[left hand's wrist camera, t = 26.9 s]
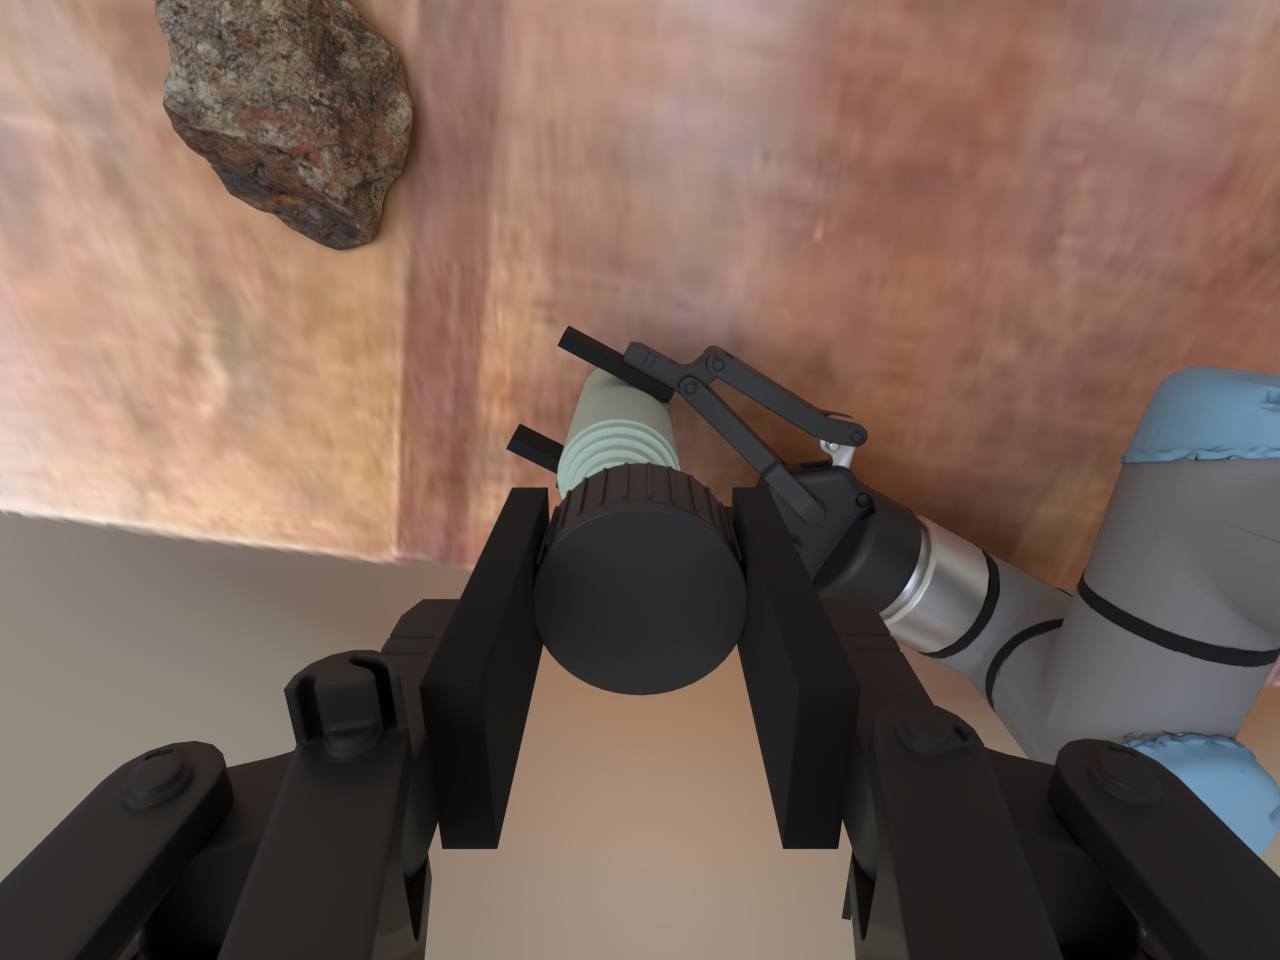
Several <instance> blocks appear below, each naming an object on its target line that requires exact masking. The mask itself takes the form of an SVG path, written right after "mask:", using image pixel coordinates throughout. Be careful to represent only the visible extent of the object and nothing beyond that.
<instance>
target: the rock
mask: <svg viewBox="0 0 1280 960" xmlns="http://www.w3.org/2000/svg"><path fill="white" fill-rule="evenodd" d="M155 15H156V17H157V20H158V22H159V24H160V26H161V29H162V31H163V33H164V35H165V38H166V40H167V42H168V44H169V48H170V55H171V65H172V67H171V69H170V71H169V74H168V76H167V79H166V81H165V83H164V100H163V106H164V108H165V111H166V113H167V114H168V116H169V118H170V119H171V122H172V126H173V129H174V130H175V131H176V132H177V134H178V135H179V136H180V137H181V138H182V139H183V141H184V142H185V143H186V144H187V146H188V147H189V148H191V149H192V150H193V151H194V152H196V153H197V154H199V155H201V156H203V157H205V158H206V159H207V160H208V162H210V163H211V164H212V169H213V170H214V171H215V172H216V173H217V174H218V176H219V178H220V179H221V181H222V183H223V184H224V186H225V187H226V189H227V190H228V192H229V193H230V194H231V195H233V196H235V197H237V198H239V199H240V200H242V201H244V202H245V203H247V204H248V205H250V206H252V207H254V208H256V209H258V210H261V211H264V212H268V213H272V214H275V215H276V216H277V217H278V218H280V219H281V220H282V221H283V222H284V223H285V224H286V225H287V226H288V227H289V228H291V229H293V230H295V231H297V232H299V233H301V234H303V235H305V236H307V237H308V238H310V239H312V240H314V241H315V242H317V243H319V244H322V245H324V246H327V247H330V248H334V249H337V250H344V249H349V248H353V247H357V246H359V245H361V244H366V243H368V242H369V241H370V240H371V239H373V238H374V237H375V236H376V234H377V227H378V224H379V221H380V218H381V216H382V203H383V199H384V196H385V194H386V191H387V190H388V188H389V187H390V186H391V184H392V183H393V181H394V179H395V178H398V177H399V176H400V175H401V174H402V168H403V165H404V162H405V156H406V155H407V151H408V147H409V141H410V132H411V128H412V125H413V123H412V117H413V111H412V109H413V104H412V102H411V99H410V95H409V91H408V89H407V88H406V75H405V71H404V69H403V67H402V65H401V63H400V56H399V55H398V54H397V52H396V51H395V48H394V46H393V45H391V44H390V43H389V42H388V41H387V40H386V39H385V38H384V37H383V36H382V34H381V33H380V32H378V31H377V30H376V29H374V28H373V27H372V26H371V24H370V23H369V22H366V21H365V20H364V19H363V18H362V17H361V16H360V14H359V13H358V12H357V10H356V9H355V8H354V7H353V6H352V4H351V3H350V2H349V1H348V0H156V6H155Z"/></svg>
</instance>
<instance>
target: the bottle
mask: <svg viewBox="0 0 1280 960" xmlns="http://www.w3.org/2000/svg"><path fill="white" fill-rule="evenodd" d="M627 462H628V463H629V464H632V463H647V462H651V464H656V465H662V466H666V467H669V466H671V467H673V469H676V470H678V471H680V465H679V459H678V454H677V449H676V444H675V439H674V433H673V428H672V423H671V418H670V413H669V407H668V404H666V403H664V402H662V401H660V400H658V399H657V398H655V397H653V396H651V395H649V394H647V393H646V392H643V391H642V390H640V389H638V388H636V387H634V386H632V385H630V384H628V383H627V382H625V381H623V380H621V379H619V378H617V377H615V376H613V375H612V374H610V373H608V372H606V371H604V370H602V369H600V368H596V369H595V370H594V371H593V372H592V373H591V374H590V375H589V377H588V378H587V380H586V381H585V383H584V386H583V388H582V391H581V395H580V398H579V401H578V404H577V407H576V410H575V414H574V417H573V420H572V423H571V426H570V429H569V433H568V436H567V439H566V442H565V445H564V448H563V452H562V455H561V458H560V461H559V465H558V473H557V481H558V487H559V491H560V495H561V497H562V499H564V498H565V497H566V493H567V491H568V490H572V489H573V488H575V487H576V486H577V485H578V484H579V483H580V482H582V481H583V478H585V477H587V478H588V477H589V476H591V475H593V474H595V473H597V472H599V471H602V470H603V468H605V467H607V468H610V467H614V466H618V465H623V464H624V463H627ZM680 472H681V471H680Z"/></svg>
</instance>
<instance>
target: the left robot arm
mask: <svg viewBox="0 0 1280 960" xmlns="http://www.w3.org/2000/svg"><path fill="white" fill-rule="evenodd" d="M731 521H732V524H733V528H734V531H735V534H736V538H737V541H738V544H739V548H740V551H741V554H742V558H743V561H744V563H741V565H742V569H743V572H744V576H745V579H746V584H747V599H746V614H745V626H744V629H743V631H742V634H741V636H740V638H739V640H738V642H737V646H738V651H739V655H740V660H741V664H742V668H743V673H744V677H745V681H746V686H747V691H748V695H749V699H750V704H751V708H752V713H753V717H754V722H755V726H756V731H757V735H758V739H759V744H760V748H761V753H762V757H763V762H764V766H765V771H766V775H767V779H768V784H769V788H770V792H771V797H772V802H773V806H774V811H775V815H776V819H777V824H778V828H779V833H780V837H781V842H782V846H783V849H838V845H839V839H840V832H841V825H842V819H843V822H844V825H845V828H846V831H847V834H848V837H849V840H850V843H851V846H852V856H851V862H850V868H849V875H848V882H847V888H846V894H845V900H844V907H843V914H842V919H847V920H851V915H852V924H853V935H854V946H855V957H856V960H1280V877H1279V876H1278V875H1276V873H1275V872H1274V871H1272V869H1271V868H1269V867H1268V866H1267V865H1266V864H1265V863H1264V862H1263V861H1262V860H1261V859H1260V858H1259V857H1258V856H1257V855H1256V854H1255V853H1254V852H1253V851H1252V850H1251V849H1250V848H1249V847H1248V846H1247V845H1246V844H1245V843H1244V842H1243V841H1242V840H1241V839H1240V838H1239V837H1238V836H1237V835H1236V834H1235V833H1234V832H1233V831H1232V830H1231V829H1230V828H1229V827H1228V826H1227V825H1226V824H1225V823H1224V822H1223V821H1222V820H1221V819H1220V818H1219V817H1218V816H1217V815H1216V814H1215V813H1214V812H1213V811H1212V810H1211V809H1210V808H1209V807H1208V806H1207V805H1206V804H1205V803H1204V802H1203V801H1202V800H1201V799H1200V798H1199V797H1198V796H1197V795H1196V794H1195V793H1194V792H1193V791H1192V790H1191V789H1190V788H1189V787H1188V786H1187V785H1186V784H1185V783H1184V782H1183V781H1182V780H1181V779H1180V778H1179V777H1177V776H1176V775H1175V774H1173V773H1172V772H1171V771H1170V770H1168V769H1167V768H1166V767H1165V766H1163V765H1162V764H1161V763H1160V762H1158V761H1156V760H1154V759H1152V758H1151V757H1149V756H1147V755H1145V754H1143V753H1141V752H1139V751H1137V750H1135V749H1133V748H1130V747H1127V746H1124V745H1121V744H1117V743H1114V742H1111V741H1107V740H1098V739H1088V738H1085V739H1080V740H1075V741H1070V742H1068V743H1067V744H1066V745H1064V746H1063V747H1062V748H1061V749H1060V750H1059V751H1058V755H1057V758H1056V762H1055V765H1051V764H1047V763H1043V762H1038V761H1034V760H1030V759H1025V758H1021V757H1016V756H1012V755H1008V754H1004V753H1001V752H998V751H994V750H991V749H988V748H986V747H984V744H983V742H982V741H981V739H980V738H979V736H978V734H977V733H976V731H975V730H974V729H973V728H972V727H971V726H970V725H969V724H967V723H966V722H965V721H964V720H962V719H961V718H960V717H959V716H957V715H955V714H953V713H951V712H949V711H947V710H945V709H943V708H941V707H938V706H935V705H934V704H933V703H932V701H931V699H930V698H929V696H928V694H927V693H926V691H925V689H924V688H923V686H922V684H921V683H920V681H919V679H918V678H917V676H916V674H915V673H914V671H913V669H912V668H911V666H910V664H909V663H908V661H907V659H906V658H905V656H904V654H903V653H902V652H900V648H899V646H898V644H897V643H896V641H895V639H894V638H893V636H891V635H890V631H889V629H888V628H887V626H886V624H885V623H884V621H883V619H882V618H881V616H880V614H879V613H878V612H876V611H875V610H874V609H872V608H871V607H870V606H868V605H867V604H866V603H864V602H863V601H862V600H860V599H859V598H858V597H819V595H818V593H817V591H816V589H815V587H814V584H813V582H812V580H811V578H810V576H809V574H808V572H807V569H806V567H805V565H804V563H803V561H802V559H801V557H800V555H799V552H798V550H797V548H796V546H795V544H794V542H793V540H792V538H791V535H790V533H789V531H788V529H787V527H786V525H785V523H784V520H783V518H782V516H781V514H780V512H779V510H778V508H777V506H776V503H775V501H774V499H773V497H772V495H771V493H770V491H769V488H733V490H732V509H731ZM548 524H550V520H549V501H548V488H512V489H511V491H510V494H509V496H508V498H507V500H506V502H505V504H504V506H503V509H502V511H501V513H500V515H499V517H498V519H497V521H496V523H495V526H494V528H493V530H492V532H491V534H490V536H489V538H488V541H487V543H486V545H485V547H484V549H483V551H482V553H481V555H480V558H479V560H478V562H477V564H476V566H475V568H474V570H473V573H472V575H471V577H470V579H469V581H468V583H467V585H466V587H465V590H464V592H463V594H462V596H461V598H460V599H423V600H422V601H420V602H419V603H418V604H416V605H415V606H414V607H412V608H411V609H410V610H408V611H407V612H406V613H404V614H403V615H402V616H401V618H400V619H399V621H398V623H397V624H396V626H395V628H394V629H393V631H392V633H391V634H390V638H388V639H387V641H386V643H385V645H384V646H383V648H382V650H381V652H377V651H374V650H353V651H348V652H343V653H338V654H334V655H330V656H328V657H326V658H323V659H321V660H319V661H316V662H314V663H312V664H310V665H309V666H307V667H306V668H304V669H303V670H302V671H300V672H299V673H297V674H296V675H295V676H294V677H293V678H292V679H291V681H290V682H289V683H288V685H287V686H286V687H285V689H284V692H285V696H286V700H287V705H288V709H289V713H290V718H291V722H292V726H293V730H294V735H295V739H296V743H297V745H296V748H295V750H294V751H292V752H289V753H285V754H282V755H279V756H275V757H272V758H267V759H263V760H259V761H254V762H250V763H245V764H241V765H237V766H233V767H228V768H227V767H226V764H225V760H224V757H223V754H222V753H221V752H220V751H219V750H218V749H217V748H216V747H215V746H214V745H212V744H207V743H203V742H198V741H191V742H182V743H173V744H170V745H166V746H163V747H160V748H157V749H154V750H151V751H148V752H146V753H144V754H142V755H140V756H138V757H136V758H134V759H132V760H131V761H129V762H127V763H125V764H123V765H122V766H121V767H119V768H118V769H117V770H116V771H114V772H113V773H112V774H111V775H109V776H108V777H107V778H105V779H104V780H103V781H102V782H101V783H100V784H99V785H98V786H97V787H96V788H95V789H94V790H93V791H92V792H91V793H90V794H89V795H88V796H87V797H86V798H85V799H84V800H83V801H82V802H81V803H80V804H79V805H78V806H77V807H76V808H75V809H74V810H73V811H72V812H71V813H70V814H69V815H68V816H67V817H66V818H65V819H64V820H63V821H62V822H61V823H60V824H59V825H58V826H57V827H56V828H55V829H54V830H53V831H52V832H51V833H50V834H49V835H48V836H47V837H46V838H45V839H44V840H43V841H42V842H41V843H40V844H39V845H38V846H37V847H36V848H35V849H34V850H33V851H32V852H31V853H30V854H29V855H28V856H27V857H26V858H25V859H24V860H23V861H22V862H21V863H20V864H19V865H18V866H17V867H16V868H15V869H14V870H13V871H12V872H11V873H10V874H9V875H8V876H7V877H6V878H5V879H4V880H3V881H2V882H1V883H0V960H424V958H425V948H426V937H427V926H428V915H429V904H430V893H431V882H432V876H431V869H430V862H429V856H428V851H429V848H430V845H431V842H432V839H433V836H434V833H435V830H436V827H437V823H438V822H439V829H440V836H441V843H442V849H497V848H498V843H499V839H500V835H501V830H502V826H503V821H504V817H505V812H506V808H507V803H508V799H509V794H510V790H511V786H512V781H513V777H514V772H515V768H516V763H517V759H518V755H519V750H520V746H521V741H522V737H523V732H524V728H525V723H526V719H527V715H528V710H529V706H530V701H531V697H532V692H533V688H534V683H535V679H536V675H537V670H538V666H539V661H540V657H541V652H542V648H543V642H542V640H541V638H540V636H539V634H538V631H537V628H536V623H535V608H534V592H533V584H534V580H535V577H536V573H537V570H538V568H537V567H536V562H537V558H538V555H539V552H540V548H541V545H542V542H543V538H544V535H545V532H546V528H547V525H548Z"/></svg>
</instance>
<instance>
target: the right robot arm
mask: <svg viewBox="0 0 1280 960" xmlns="http://www.w3.org/2000/svg"><path fill="white" fill-rule="evenodd" d="M558 346H559V347H561V348H563V349H565V350H567V351H568V352H570V353H572V354H574V355H576V356H578V357H580V358H582V359H583V360H585V361H587V362H589V363H591V364H593V365H595V366H597V367H598V368H600V369H602V370H604V371H606V372H608V373H610V374H612V375H613V376H615V377H617V378H619V379H621V380H623V381H625V382H627V383H628V384H630V385H632V386H634V387H636V388H638V389H640V390H642V391H643V392H646V393H647V394H649V395H651V396H653V397H655V398H657V399H658V400H660V401H662V402H664V403H666V404H668V402H669V401H670V399H671V397H672V395H673V394H674V391H676V392H678V393H680V394H681V395H682V397H683V398H684V399H685V400H686V401H687V402H688V403H689V404H690V405H691V406H692V407H693V408H694V409H695V410H696V411H697V412H698V413H699V414H701V415H702V416H703V417H704V418H705V419H706V420H707V421H708V422H709V423H710V424H711V425H712V426H713V427H714V428H715V429H716V430H717V431H718V432H719V433H720V434H721V435H722V436H723V437H724V438H725V439H726V440H727V441H728V442H729V443H730V444H731V445H732V446H733V447H734V448H735V449H736V450H737V451H738V452H739V453H740V454H741V455H742V456H743V457H744V458H745V459H746V460H747V461H748V462H749V463H750V464H751V465H752V466H753V467H754V468H755V469H756V470H757V471H758V472H759V474H760V475H761V478H760V479H759V481H758V483H757V486H756V488H769V491H770V493H771V495H772V497H773V499H774V501H775V503H776V506H777V508H778V510H779V512H780V514H781V516H782V518H783V520H784V523H785V525H786V527H787V529H788V531H789V533H790V535H791V538H792V540H793V542H794V544H795V546H796V548H797V550H798V552H799V555H800V557H801V559H802V561H803V563H804V565H805V567H806V569H807V572H808V574H809V576H810V578H811V580H812V582H813V584H814V587H815V589H816V591H817V593H818V595H819V597H858V598H859V599H860V600H862V601H863V602H864V603H866V604H867V605H868V606H870V607H871V608H872V609H874V610H875V611H876V612H878V613H879V614H880V616H881V618H882V619H883V621H884V623H885V624H886V626H887V628H888V629H889V631H890V635H891V636H893V638H894V639H895V641H897V642H899V643H901V644H903V645H906V646H908V647H910V648H912V649H914V650H916V651H917V652H919V653H921V654H923V655H925V656H928V657H930V658H932V659H934V660H936V661H938V662H940V663H942V664H943V665H945V666H947V667H949V668H951V669H953V670H955V671H957V672H959V673H961V674H962V675H963V676H965V677H966V678H968V679H969V680H970V681H971V682H972V683H973V684H974V686H975V687H976V688H977V690H978V691H979V692H980V694H981V695H982V696H983V698H984V699H985V700H986V702H987V703H988V705H989V706H990V707H991V709H992V710H993V711H994V712H995V713H996V715H997V716H998V717H999V718H1000V719H1001V721H1002V722H1003V724H1004V725H1005V726H1006V728H1007V729H1008V731H1009V732H1010V733H1011V735H1012V736H1013V737H1014V739H1015V740H1016V742H1017V743H1018V744H1019V746H1020V747H1021V748H1022V750H1023V751H1024V753H1025V754H1026V755H1027V757H1028V758H1029V759H1030V760H1034V761H1038V762H1043V763H1047V764H1051V765H1055V762H1056V758H1057V755H1058V751H1059V750H1060V749H1061V748H1062V747H1063V746H1064V745H1066V744H1067V743H1068V742H1070V741H1075V740H1080V739H1085V738H1088V739H1098V740H1107V741H1111V742H1114V743H1117V744H1121V745H1124V746H1127V747H1130V748H1133V749H1135V750H1137V751H1139V752H1141V753H1143V754H1145V755H1147V756H1149V757H1151V758H1152V759H1154V760H1156V761H1158V762H1160V763H1161V764H1162V765H1163V766H1165V767H1166V768H1167V769H1168V770H1170V771H1171V772H1172V773H1173V774H1175V775H1176V776H1177V777H1179V778H1180V779H1181V780H1182V781H1183V782H1184V783H1185V784H1186V785H1187V786H1188V787H1189V788H1190V789H1191V790H1192V791H1193V792H1194V793H1195V794H1196V795H1197V796H1198V797H1199V798H1200V799H1201V800H1202V801H1203V802H1204V803H1205V804H1206V805H1207V806H1208V807H1209V808H1210V809H1211V810H1212V811H1213V812H1214V813H1215V814H1216V815H1217V816H1218V817H1219V818H1220V819H1221V820H1222V821H1223V822H1224V823H1225V824H1226V825H1227V826H1228V827H1229V828H1230V829H1231V830H1232V831H1233V832H1234V833H1235V834H1236V835H1237V836H1238V837H1239V838H1240V839H1241V840H1242V841H1243V842H1244V843H1245V844H1246V845H1247V846H1248V847H1249V848H1250V849H1251V850H1252V851H1253V852H1254V853H1255V854H1256V855H1257V856H1258V857H1259V856H1260V855H1261V854H1262V853H1263V852H1264V851H1265V850H1266V849H1267V848H1268V847H1269V845H1270V844H1271V843H1272V841H1273V840H1274V838H1275V837H1276V835H1277V833H1278V831H1279V828H1280V807H1279V803H1280V790H1279V788H1278V786H1277V784H1276V782H1275V781H1274V779H1273V778H1272V776H1271V775H1270V774H1269V773H1268V772H1267V771H1266V770H1265V769H1264V768H1263V767H1262V766H1261V765H1260V764H1259V763H1258V762H1257V759H1256V756H1254V754H1253V752H1252V751H1250V750H1249V749H1247V748H1246V747H1245V746H1244V745H1243V744H1242V743H1240V742H1239V741H1236V737H1237V735H1238V732H1239V730H1240V728H1241V726H1242V724H1243V723H1244V721H1245V719H1246V717H1247V715H1248V713H1249V711H1250V709H1251V707H1252V706H1253V704H1254V702H1255V700H1256V698H1257V696H1258V694H1259V692H1260V690H1261V688H1262V686H1263V684H1264V683H1265V681H1266V679H1267V677H1268V675H1269V673H1270V671H1271V669H1272V667H1273V665H1274V663H1275V661H1276V659H1277V657H1278V656H1279V654H1280V376H1277V375H1270V374H1264V373H1257V372H1250V371H1242V370H1234V369H1226V368H1213V367H1193V368H1187V369H1183V370H1180V371H1177V372H1175V373H1173V374H1171V375H1169V376H1168V377H1167V378H1165V379H1164V380H1163V381H1162V382H1161V384H1160V385H1159V386H1158V387H1157V389H1156V391H1155V393H1154V395H1153V397H1152V399H1151V401H1150V403H1149V405H1148V407H1147V409H1146V411H1145V413H1144V415H1143V418H1142V420H1141V422H1140V424H1139V426H1138V428H1137V430H1136V432H1135V434H1134V436H1133V438H1132V440H1131V442H1130V444H1129V446H1128V448H1127V450H1126V452H1125V453H1124V454H1123V455H1122V456H1121V463H1123V465H1122V468H1121V471H1120V473H1119V476H1118V479H1117V482H1116V485H1115V487H1114V490H1113V493H1112V496H1111V499H1110V502H1109V504H1108V507H1107V510H1106V513H1105V516H1104V518H1103V521H1102V524H1101V527H1100V530H1099V533H1098V535H1097V538H1096V541H1095V544H1094V547H1093V549H1092V552H1091V555H1090V558H1089V561H1088V564H1087V566H1086V569H1084V572H1083V574H1082V576H1081V579H1080V581H1079V583H1078V585H1077V587H1076V590H1075V592H1074V595H1073V594H1072V593H1070V592H1068V591H1066V590H1064V589H1062V588H1060V589H1059V588H1056V587H1053V586H1052V585H1049V584H1047V583H1045V582H1044V581H1042V580H1040V579H1038V578H1036V577H1034V576H1032V575H1030V574H1028V573H1026V572H1024V571H1022V570H1020V569H1018V568H1016V567H1015V566H1013V565H1011V564H1009V563H1007V562H1005V561H1003V560H1001V559H999V558H998V557H996V556H994V555H992V554H990V553H988V552H986V551H984V550H983V549H981V548H979V547H978V546H976V545H974V544H972V543H970V542H968V541H966V540H965V539H963V538H961V537H959V536H957V535H956V534H954V533H952V532H950V531H948V530H947V529H945V528H943V527H941V526H939V525H938V524H936V523H934V522H932V521H930V520H929V519H927V518H925V517H923V516H918V515H915V514H914V512H913V511H911V510H910V509H909V508H907V507H905V506H903V505H901V504H899V503H898V502H896V501H894V500H892V499H890V498H888V497H886V496H885V495H883V494H881V493H879V492H877V491H875V490H874V489H872V488H870V487H868V486H866V485H864V484H862V483H861V482H859V481H858V480H857V479H856V477H855V475H854V474H853V472H852V471H851V470H850V469H849V467H850V464H851V461H852V458H853V454H854V451H855V448H856V447H859V446H861V445H863V444H864V443H865V441H866V440H867V431H866V430H865V429H864V428H863V427H862V426H861V425H860V424H859V423H858V422H856V421H855V420H854V419H853V418H852V417H851V416H849V415H846V414H841V413H835V412H830V411H825V410H820V409H818V408H816V407H814V406H813V405H811V404H810V403H808V402H806V401H805V400H803V399H802V398H800V397H798V396H797V395H795V394H794V393H792V392H790V391H789V390H787V389H786V388H784V387H782V386H781V385H779V384H778V383H776V382H774V381H773V380H771V379H770V378H768V377H766V376H765V375H763V374H762V373H760V372H758V371H757V370H755V369H754V368H752V367H750V366H749V365H747V364H746V363H744V362H742V361H741V360H739V359H738V358H736V357H734V356H733V355H731V354H730V353H728V352H726V351H725V350H723V349H721V348H720V347H718V346H710V347H708V348H707V349H706V350H705V351H704V353H703V354H702V355H701V356H700V357H699V358H697V359H696V360H695V361H694V362H692V363H690V364H686V365H683V364H679V363H677V362H675V361H673V360H672V359H670V358H668V357H666V356H664V355H662V354H661V353H659V352H657V351H655V350H653V349H651V348H650V347H648V346H646V345H644V344H642V343H639V342H631V343H630V344H629V346H628V348H627V350H626V352H625V354H624V355H622V354H621V353H619V352H617V351H615V350H613V349H611V348H609V347H608V346H606V345H604V344H602V343H600V342H598V341H596V340H595V339H593V338H591V337H589V336H587V335H585V334H584V333H582V332H580V331H578V330H576V329H574V328H572V327H571V326H568V327H567V329H566V330H565V332H564V334H563V336H562V338H561V340H560V342H559V344H558ZM716 378H719V379H720V380H722V381H724V382H725V383H727V384H729V385H730V386H732V387H733V388H735V389H737V390H738V391H740V392H742V393H743V394H745V395H747V396H748V397H750V398H751V399H753V400H755V401H756V402H758V403H760V404H761V405H763V406H764V407H766V408H768V409H769V410H771V411H773V412H774V413H776V414H778V415H779V416H781V417H782V418H784V419H786V420H787V421H789V422H791V423H792V424H794V425H795V426H797V427H799V428H800V429H802V430H804V431H805V432H807V433H808V434H810V435H812V436H814V437H816V442H817V444H818V445H819V447H820V448H821V449H822V450H823V451H824V452H826V453H828V455H829V458H828V460H822V461H814V462H806V463H798V464H790V465H787V464H786V463H785V462H784V461H783V460H782V459H781V458H780V457H779V456H778V455H777V454H776V453H775V452H774V451H773V450H772V449H771V448H770V447H769V446H768V445H767V444H766V443H765V442H764V441H763V440H762V439H761V438H760V437H759V436H758V435H757V434H756V433H755V432H754V431H753V430H752V429H751V428H750V427H749V426H748V425H747V424H746V423H745V422H744V421H743V420H742V419H741V418H740V417H739V416H738V415H737V414H736V413H735V412H734V411H733V410H732V409H731V408H730V407H729V406H728V405H727V404H726V403H725V402H724V401H723V400H722V399H721V398H720V397H719V395H718V394H717V393H716V392H715V391H714V390H713V389H712V388H711V387H710V386H709V384H710V383H711V382H712V381H714V380H715V379H716ZM563 448H564V446H563V445H561V444H559V443H557V442H555V441H553V440H551V439H549V438H547V437H545V436H543V435H541V434H540V433H538V432H536V431H534V430H532V429H530V428H528V427H526V426H524V425H522V424H519V426H518V428H517V429H516V431H515V433H514V435H513V436H512V438H511V440H510V442H509V444H508V446H507V448H506V449H507V450H509V451H512V452H514V453H516V454H518V455H520V456H522V457H524V458H526V459H528V460H530V461H532V462H534V463H536V464H538V465H540V466H542V467H544V468H546V469H548V470H550V471H552V472H554V473H556V474H557V473H558V465H559V461H560V458H561V455H562V452H563ZM556 487H557V488H558V489H559V487H558V481H557V484H556ZM724 509H725V513H726V516H727V519H728V520H731V509H732V507H728V506H724Z"/></svg>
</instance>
